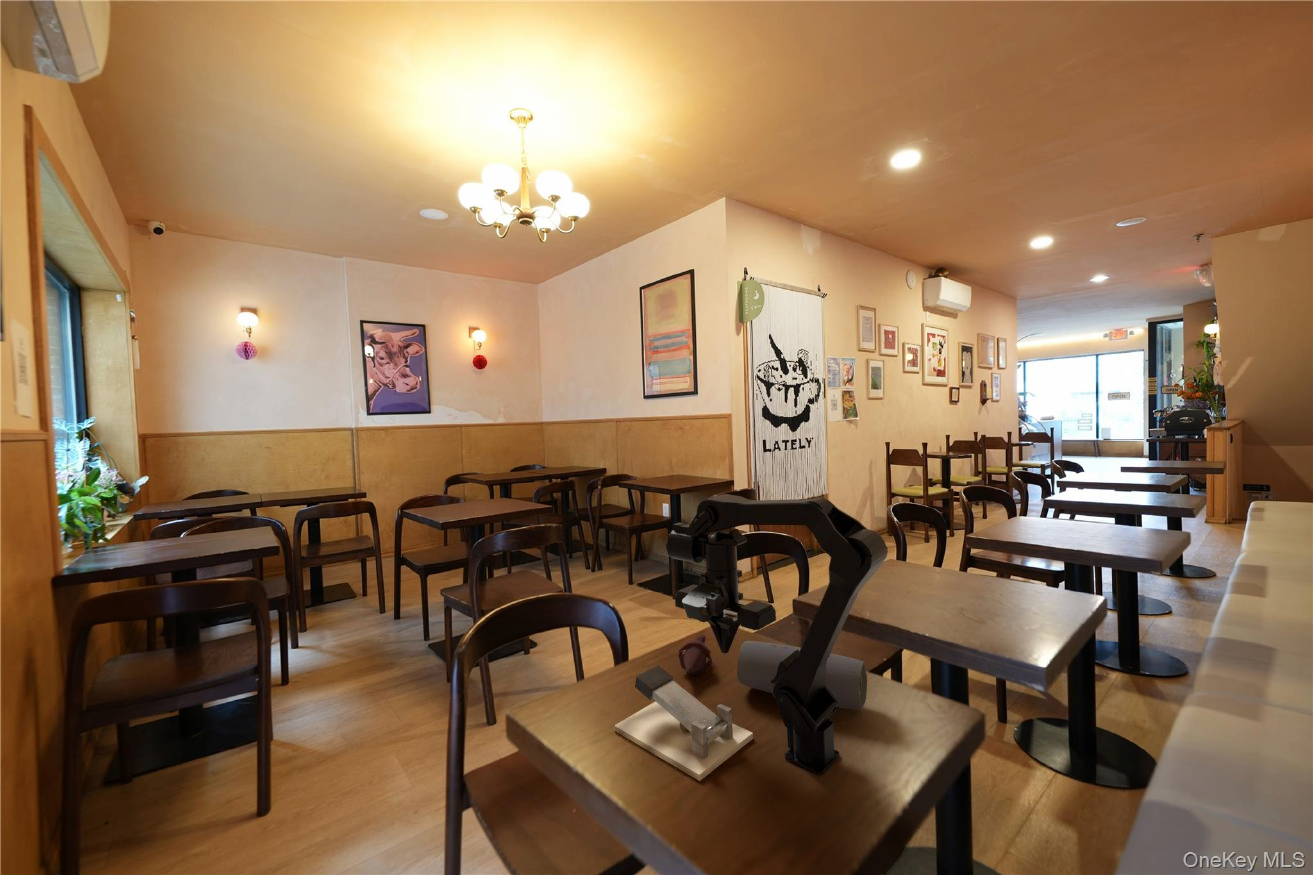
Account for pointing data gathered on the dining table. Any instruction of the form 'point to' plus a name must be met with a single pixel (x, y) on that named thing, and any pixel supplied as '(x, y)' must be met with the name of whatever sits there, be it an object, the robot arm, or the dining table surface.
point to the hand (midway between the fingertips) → (725, 652)
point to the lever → (678, 701)
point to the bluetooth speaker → (764, 658)
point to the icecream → (695, 656)
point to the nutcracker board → (683, 739)
